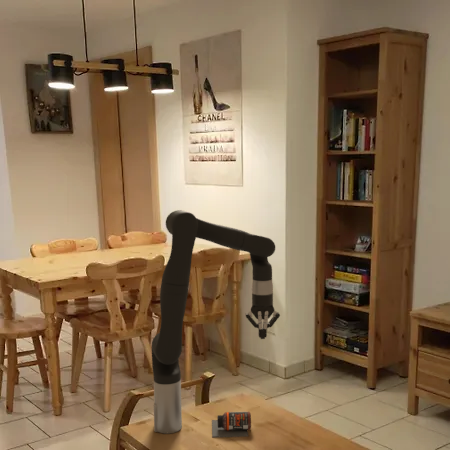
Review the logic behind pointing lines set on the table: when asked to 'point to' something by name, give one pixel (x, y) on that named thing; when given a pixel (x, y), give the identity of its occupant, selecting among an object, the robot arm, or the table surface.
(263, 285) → the robot arm
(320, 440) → the table surface
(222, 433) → the mat
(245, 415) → the supplement bottle
